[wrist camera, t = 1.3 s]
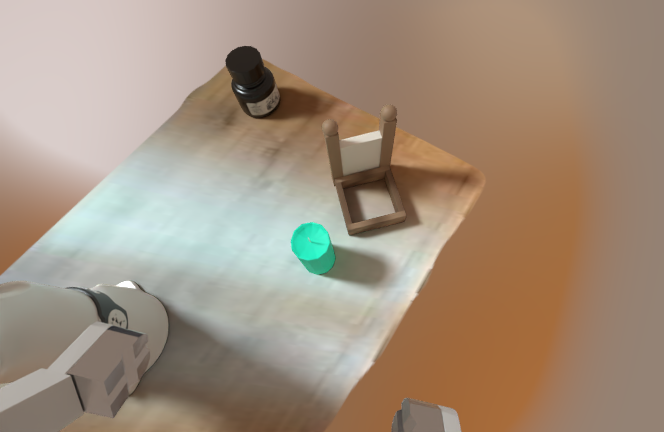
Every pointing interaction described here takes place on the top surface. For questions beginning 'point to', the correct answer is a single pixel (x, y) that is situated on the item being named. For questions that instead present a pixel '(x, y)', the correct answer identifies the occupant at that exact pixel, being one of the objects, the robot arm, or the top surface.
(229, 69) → the ink bottle
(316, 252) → the candle
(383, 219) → the shallow open wooden box
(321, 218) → the top surface
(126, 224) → the top surface
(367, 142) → the headboard
